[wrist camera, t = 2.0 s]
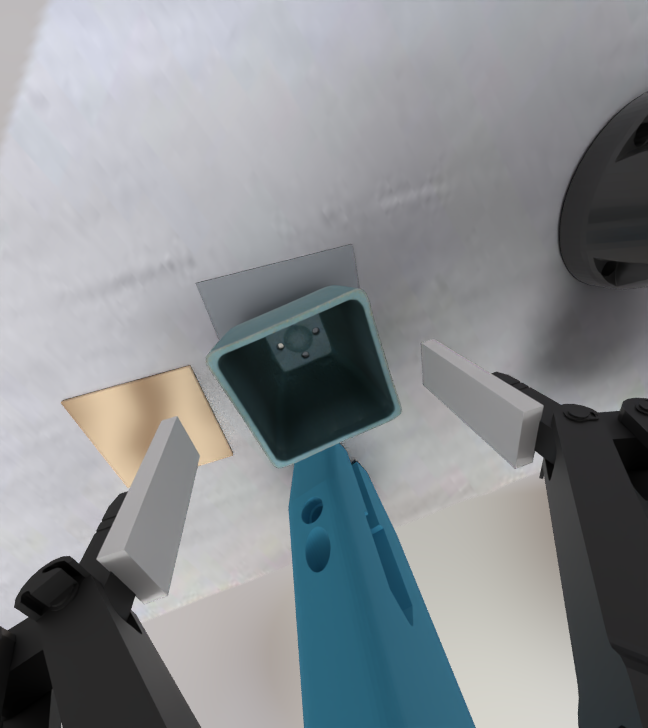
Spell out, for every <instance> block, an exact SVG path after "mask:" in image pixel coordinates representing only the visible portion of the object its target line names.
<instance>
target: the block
mask: <svg viewBox="0 0 648 728" xmlns="http://www.w3.org/2000/svg"><path fill="white" fill-rule="evenodd" d="M289 521H290V535H291V549H292V563H293V577H294V591H295V605H296V620H297V633H298V648H299V662H300V675H301V691H302V705H303V719H304V728H476V727H475V725H474V722H473V720H472V717H471V715H470V713H469V711H468V708H467V705H466V703H465V700H464V698H463V696H462V693H461V691H460V688H459V686H458V683H457V681H456V678H455V676H454V673H453V671H452V669H451V666H450V664H449V662H448V659H447V656H446V654H445V652H444V649H443V647H442V644H441V642H440V639H439V637H438V635H437V632H436V629H435V627H434V625H433V622H432V620H431V617H430V615H429V613H428V610H427V608H426V605H425V603H424V600H423V598H422V595H421V593H420V590H419V588H418V586H417V583H416V581H415V578H414V576H413V573H412V571H411V569H410V566H409V564H408V561H407V559H406V556H405V554H404V551H403V549H402V546H401V544H400V542H399V539H398V537H397V534H396V532H395V530H394V528H393V526H392V524H391V522H390V520H389V518H388V515H387V513H386V511H385V509H384V507H383V505H382V503H381V501H380V499H379V497H378V494H377V492H376V490H375V488H374V486H373V484H372V482H371V480H370V478H369V476H368V474H367V472H366V471H365V469H364V468H363V467H362V466H361V465H360V464H359V463H358V462H355V463H354V464H352V465H351V462H350V459H349V456H348V453H347V451H346V450H345V449H344V448H343V446H342V445H341V444H340V443H338V444H335V445H333V446H331V447H329V448H326V449H325V450H322V451H320V452H318V453H316V454H314V455H311V456H309V457H307V458H305V459H303V460H301V461H299V462H297V463H294V471H293V478H292V486H291V493H290V501H289Z"/></svg>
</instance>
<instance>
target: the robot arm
mask: <svg viewBox="0 0 648 728" xmlns="http://www.w3.org/2000/svg"><path fill="white" fill-rule="evenodd" d="M560 246H561V252H562V256H563V260H564V262H565V264H566V266H567V268H568V270H569V271H570V273H571V274H572V275H573V276H574V277H575V278H577V279H578V280H579V281H581V282H583V283H586V284H589V285H594V286H600V287H606V288H613V289H633V288H642V287H648V92H646V93H645V94H643V95H641V96H640V97H638V98H637V99H635V100H634V101H632V102H631V103H630V104H628V105H627V106H626V107H625V108H624V109H622V110H621V111H620V112H619V113H618V114H617V115H616V116H615V117H614V118H613V119H612V120H611V121H610V122H609V123H608V124H607V126H606V127H605V128H604V129H603V130H602V131H601V133H600V134H599V135H598V137H597V138H596V139H595V141H594V142H593V144H592V145H591V146H590V148H589V150H588V151H587V153H586V154H585V156H584V158H583V160H582V161H581V163H580V165H579V167H578V169H577V171H576V173H575V175H574V177H573V180H572V182H571V185H570V187H569V190H568V193H567V196H566V199H565V203H564V207H563V211H562V216H561V224H560ZM421 354H422V373H423V385H424V386H425V387H426V388H427V389H428V390H429V391H431V392H432V393H433V394H434V395H435V396H436V397H437V398H438V399H439V400H440V401H441V402H443V403H444V404H445V405H446V406H447V407H448V408H449V409H450V410H451V411H452V412H453V413H455V414H456V415H457V416H458V417H459V418H460V419H461V420H462V421H463V422H464V423H466V424H467V425H468V426H469V427H470V428H471V429H472V430H473V431H474V432H475V433H476V434H478V435H479V436H480V437H481V438H482V439H483V440H484V441H485V442H486V443H487V444H488V445H490V446H491V447H492V448H493V449H494V450H495V451H496V452H497V453H498V454H499V455H501V456H502V457H503V458H504V459H505V460H506V461H507V462H508V463H509V464H510V465H511V466H513V467H514V468H515V469H516V468H519V467H521V466H524V465H527V464H530V463H532V462H533V458H534V453H535V451H536V452H537V453H539V454H540V455H541V456H542V457H544V458H543V463H542V468H541V472H540V478H541V479H543V477H545V484H546V490H547V496H548V502H549V508H550V515H551V521H552V527H553V533H554V540H555V546H556V552H557V558H558V564H559V570H560V576H561V583H562V589H563V596H564V601H565V608H566V613H567V620H568V626H569V633H570V639H571V645H572V651H573V657H574V664H575V670H576V676H577V683H578V693H579V704H578V726H579V728H648V399H646V398H632V399H627V400H625V401H623V404H622V406H621V409H620V411H613V412H600V413H598V412H596V411H594V410H593V409H590V408H588V407H585V406H581V405H576V404H563V405H560V404H559V403H557V402H555V401H553V400H552V399H550V398H548V397H546V396H545V395H543V394H541V393H539V392H538V391H536V390H534V389H532V388H531V387H530V388H529V387H528V386H527V385H525V384H524V383H520V381H518V380H517V379H515V378H513V377H511V376H509V375H506V374H503V373H499V372H494V373H489V372H488V371H486V370H484V369H483V368H481V367H479V366H478V365H476V364H474V363H473V362H471V361H469V360H468V359H466V358H465V357H463V356H461V355H460V354H458V353H456V352H455V351H453V350H451V349H450V348H448V347H446V346H445V345H443V344H442V343H440V342H438V341H437V340H435V339H431V340H428V341H425V342H421ZM199 458H200V455H199V453H198V451H197V449H196V448H195V446H194V444H193V442H192V441H191V439H190V437H189V435H188V434H187V432H186V430H185V428H184V427H183V425H182V423H181V421H180V420H179V418H178V416H175V417H172V418H169V419H165V420H162V421H161V423H160V425H159V427H158V429H157V431H156V433H155V436H154V438H153V440H152V442H151V444H150V446H149V448H148V450H147V453H146V455H145V457H144V459H143V461H142V463H141V465H140V467H139V469H138V472H137V474H136V476H135V478H134V480H133V482H132V484H131V486H130V489H129V491H127V492H124V493H121V494H119V495H118V497H117V498H116V499H115V500H114V501H113V502H112V504H111V505H110V506H109V507H108V509H107V511H106V513H105V515H104V517H103V519H102V522H101V523H100V525H99V527H98V529H97V530H96V531H97V533H95V534H94V536H93V538H92V540H91V542H90V544H89V546H88V548H87V550H86V552H85V554H84V556H83V558H82V560H81V561H80V563H77V562H76V561H75V560H74V559H73V558H71V557H70V556H64V557H60V558H58V559H55V560H53V561H51V562H50V563H48V564H47V565H45V566H44V567H42V568H41V569H40V570H38V571H37V572H36V573H35V574H34V575H33V576H32V577H31V578H30V579H29V580H28V581H27V582H26V584H25V585H24V586H23V587H22V588H21V590H20V592H19V594H18V595H17V597H16V599H15V606H14V608H16V609H18V610H19V611H21V612H22V613H24V614H25V615H27V616H28V618H27V619H25V620H24V621H22V622H20V623H19V624H17V625H15V626H14V627H12V628H11V629H9V630H6V629H4V628H2V627H1V626H0V728H61V722H62V726H63V728H201V726H200V725H199V723H198V721H197V720H196V718H195V716H194V714H193V713H192V711H191V709H190V708H189V706H188V704H187V702H186V701H185V699H184V697H183V695H182V694H181V692H180V690H179V688H178V687H177V685H176V684H175V681H174V680H173V678H172V677H171V674H170V673H169V671H168V669H167V667H166V666H165V664H164V662H163V661H162V659H161V657H160V655H159V654H158V652H157V650H156V648H155V647H154V645H153V643H152V642H151V640H150V638H149V636H148V635H147V633H146V631H145V629H144V628H143V626H142V624H141V622H140V621H139V619H138V617H137V615H136V614H135V613H134V612H133V611H132V610H131V608H132V605H133V601H134V598H135V596H136V597H137V598H138V599H139V600H140V601H141V602H142V603H143V604H147V603H150V602H152V601H155V600H158V599H161V598H163V597H166V596H168V593H169V588H170V584H171V580H172V575H173V571H174V567H175V562H176V558H177V554H178V549H179V545H180V541H181V536H182V532H183V527H184V523H185V519H186V514H187V510H188V506H189V501H190V497H191V493H192V488H193V484H194V480H195V475H196V471H197V467H198V462H199Z"/></svg>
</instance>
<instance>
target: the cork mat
mask: <svg viewBox="0 0 648 728" xmlns="http://www.w3.org/2000/svg"><path fill="white" fill-rule="evenodd" d="M61 404H62V405H63V406H64V408H65V409H66V410H67V411H68V413H69V414H70V415H71V416H72V418H73V419H74V420H75V422H76V423H77V424H78V425H79V427H80V428H81V429H82V430H83V432H84V433H85V434H86V436H87V437H88V438H89V439H90V441H91V442H92V443H93V444H94V446H95V447H96V448H97V449H98V451H99V452H100V453H101V455H102V456H103V457H104V458H105V460H106V461H107V462H108V463H109V465H110V466H111V467H112V469H113V470H114V471H115V472H116V474H117V475H118V476H119V477H120V479H121V480H122V481H123V482H124V484H125V485H126V486H127V488H130V486H131V484H132V482H133V480H134V478H135V476H136V474H137V472H138V469H139V467H140V465H141V463H142V461H143V459H144V457H145V455H146V453H147V450H148V448H149V446H150V444H151V442H152V440H153V438H154V436H155V433H156V431H157V429H158V427H159V425H160V423H161V421H162V420H165V419H169V418H172V417H175V416H178V418H179V420H180V421H181V423H182V425H183V427H184V428H185V430H186V432H187V434H188V435H189V437H190V439H191V441H192V442H193V444H194V446H195V448H196V449H197V451H198V453H199V455H200V458H199V462H198V466H201V465H204V464H207V463H210V462H213V461H217V460H220V459H223V458H226V457H230V456H233V452H232V450H231V448H230V446H229V444H228V442H227V440H226V438H225V436H224V434H223V432H222V430H221V427H220V425H219V423H218V421H217V419H216V417H215V415H214V413H213V411H212V409H211V407H210V405H209V403H208V401H207V399H206V397H205V395H204V393H203V391H202V389H201V387H200V385H199V383H198V381H197V379H196V376H195V374H194V372H193V370H192V368H191V366H190V365H189V366H186V367H182V368H178V369H175V370H171V371H168V372H164V373H160V374H157V375H153V376H149V377H146V378H142V379H139V380H135V381H131V382H128V383H124V384H121V385H117V386H113V387H110V388H106V389H103V390H99V391H95V392H92V393H88V394H84V395H81V396H77V397H74V398H70V399H66V400H63V401H62V402H61Z"/></svg>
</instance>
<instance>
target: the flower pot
mask: <svg viewBox="0 0 648 728" xmlns="http://www.w3.org/2000/svg"><path fill="white" fill-rule="evenodd" d="M314 328H318V329H319V332H318V333H316V334H315V333H313V329H314ZM280 343H282V344H283V345H284V347H283V348H282V349H279V348H278V344H280ZM304 352H308V354H309V355H308V356H307V357H303V356H302V354H303V353H304ZM206 364H207V366H208V367H209V369H210V371H211V373H212V374H213V375H214V377H215V378H216V379H217V381H218V383H219V384H220V385H221V387H222V388H223V390H224V391H225V393H226V394H227V396H228V397H229V399H230V400H231V402H232V403H233V405H234V406H235V408H236V410H237V411H238V412H239V414H240V415H241V417H242V418H243V420H244V422H245V423H246V424H247V426H248V428H249V429H250V431H251V432H252V433H253V435H254V437H255V438H256V440H257V442H258V443H259V444H260V446H261V447H262V449H263V451H264V452H265V454H266V455H267V457H268V458H269V460H270V462H271V463H272V464H273V465H274V466H275V467H276V468H282V467H286V466H290V465H292V464H294V463H297V462H299V461H301V460H303V459H305V458H307V457H309V456H311V455H314V454H316V453H318V452H320V451H322V450H325V449H326V448H329V447H331V446H333V445H335V444H338V443H340V442H342V441H344V440H346V439H349V438H352V437H354V436H356V435H358V434H361V433H364V432H366V431H368V430H370V429H373V428H375V427H377V426H380V425H382V424H384V423H386V422H389V421H391V420H393V419H394V418H396V417H397V416H399V415H400V414H401V412H402V409H401V405H400V402H399V399H398V395H397V393H396V390H395V386H394V384H393V380H392V378H391V374H390V371H389V368H388V365H387V361H386V358H385V355H384V351H383V348H382V345H381V341H380V338H379V335H378V331H377V328H376V325H375V321H374V317H373V314H372V310H371V305H370V302H369V299H368V297H367V295H366V293H365V292H364V290H362V289H358V288H352V287H346V286H338V285H331V286H327V287H324V288H322V289H319V290H317V291H315V292H313V293H310V294H308V295H306V296H304V297H301V298H299V299H297V300H295V301H292V302H290V303H288V304H286V305H283V306H281V307H279V308H276V309H274V310H272V311H269V312H267V313H265V314H262V315H260V316H258V317H255V318H253V319H251V320H248V321H246V322H243V323H241V324H239V325H237V326H235V327H233V328H231V329H230V330H229V331H228V332H227V333H226V334H225V335H224V336H223V337H222V338H221V339H220V341H219V342H218V343H217V344H216V345H215V346H214V348H213V349H212V350H211V351H210V352H209V354H208V355H207V356H206Z"/></svg>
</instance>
